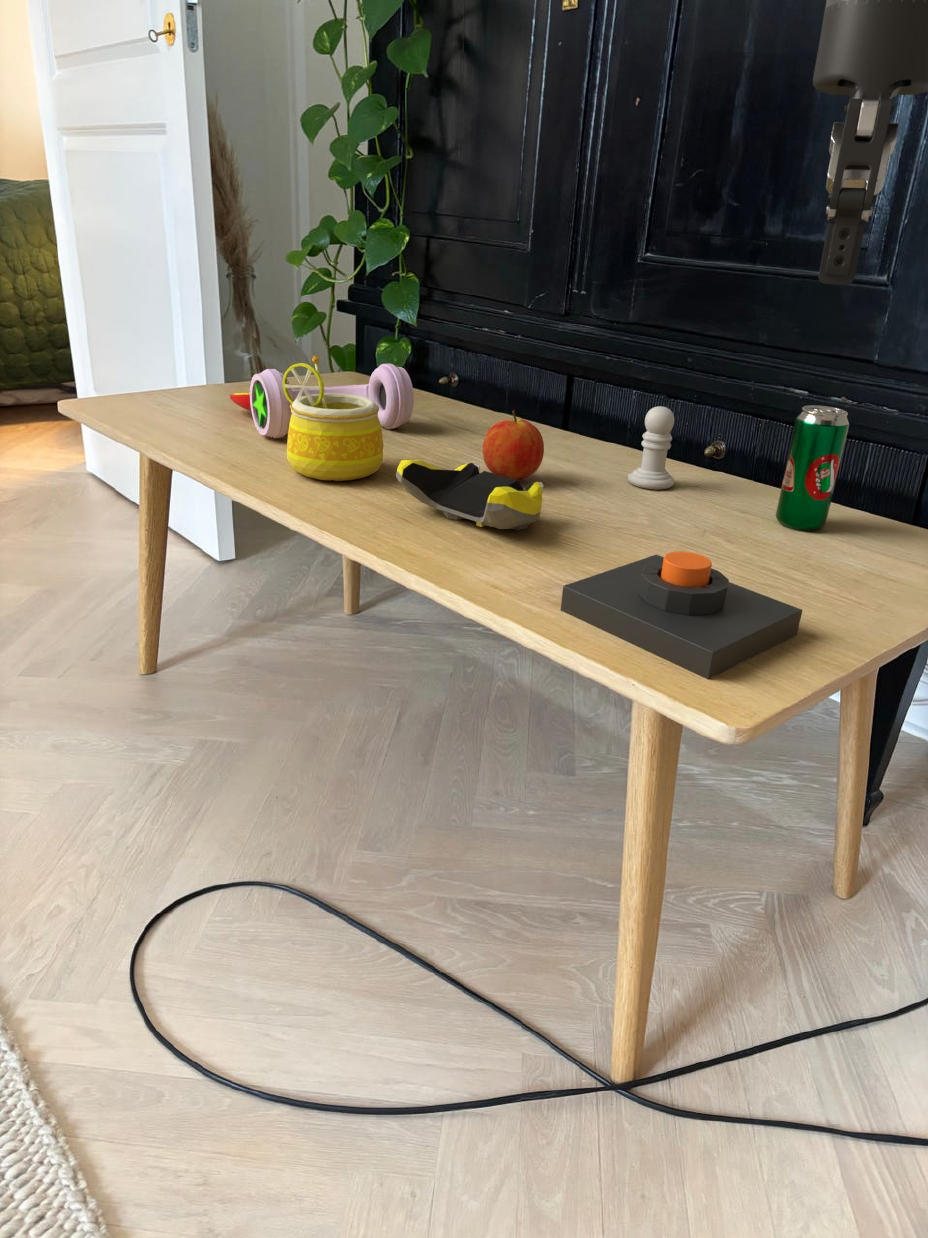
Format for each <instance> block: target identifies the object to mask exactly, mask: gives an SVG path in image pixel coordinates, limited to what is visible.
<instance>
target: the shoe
mask: <svg viewBox="0 0 928 1238" xmlns="http://www.w3.org/2000/svg"><path fill="white" fill-rule="evenodd" d="M480 470H481V466H480V465H479V464H477V463H473V462H469V463H465V464H462V465H460V466H458V467H456V468H455V469H454V470H453V469H442V468H440V467H438V466H435V465H432V464H430V463H429V462H425V461H423V460H420V459H402V460H400V462H399V465H398V466H397V469H396V473H395V478H396V479H397V480H398V482H399V483H400V485H401V486H402V487H403V488H404V490H405V491H406V493H408V494H409V495H410V496H412V497H413V498H415V499H416V500H418V501H419V502H421V503H422V504H424V505H427V506H429V507H432V508H435V509H436V510H439V511H442V513H443V516H444V517H446V518H447V519H448V520H449V519H450V520H455V521H461V520H466V519H467V520H470V521H473V522H476V524H475V525H476V526H477V527H480V528H483V527H486V526H487V527H490V528H496V529H498V530H509V529H510V530H516V531H519V530H526V529H527V528H528V527H529V525H530V524H532V523H535V522H537V521H538V520H539V519H540V518H541V514H542V513H541V512H542V504H543V489H544V484H543V483H542V481H532V482H529V483H528V484H527V486H526V487H525V488H523V486H522V484H520V481H517V480H514V479H511V478H507V477H504V476H500V475H497V474H494V473H492V472H491V471H486V470H483V471H480Z"/></svg>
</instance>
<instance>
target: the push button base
mask: <svg viewBox="0 0 928 1238" xmlns="http://www.w3.org/2000/svg"><path fill="white" fill-rule="evenodd" d="M663 560H664V556H661V555H658V554H653V555H651V556H648V557H645V558H644V557H643V558H642V559H639V560H636V561H633V562H630V563H627V564H623V565H621V566H618V567H615V568H612V569H609V570H606V571H603V572H600V573H597V574H595V575H591V576H589V577H586V578H585V577H584V578H582V579H580V580H576V581H574V582H570V583H568V584H565V585H563V586H562V593H561V600H560V601H561V603H560V611H561V612H563V613H565V614H567V615H570V616H572V617H574V618H576V619H578V620H580V621H583V622H584V623H586V624H589V625H591V626H593V627H595V628H597V629H599V630H601V631H603V632H606V633H608V634H610V635H612V636H614V637H616V638H618V639H621V640H623V641H625V642H627V643H629V644H631V645H633V646H635V647H637V648H640V649H642V650H644V651H646V652H648V653H650V654H652V655H655V656H657V657H659V658H661V659H662V660H665V661H667V662H669V663H671V664H674V665H676V666H678V667H680V668H682V669H684V670H686V671H688V672H691V673H692V674H695V675H697V676H699V677H700V678H704V679H706V680H710V679H713V678H714V677H716V676H718V675H720V674H722V673H724V672H726V671H728V670H730V669H732V668H734V667H736V666H739V665H741V664H742V663H745V662H746V661H748V660H750V659H752V658H754V657H756V656H758V655H760V654H762V653H763V652H766V651H768V650H770V649H772V648H773V647H776V646H778V645H780V644H783V643H784V642H786V641H788V640H790V639H791V638H794V637H795V636H797V635H798V632H799V627H800V623H801V620H802V619H801V618H802V614H803V609H802V608H799V607H796V606H794V605H791V604H788V603H786V602H783V601H780V600H778V599H775V598H772V597H770V596H767V595H764V594H762V593H760V592H757V591H754V590H752V589H749V588H747V587H743V586H741V585H738V584H735V583H734V582H730V579H729V578H728V577H726V575H724V574H723V573H722V572H720V571H719V570H717V569H715V568H712V567H711V572H710V577H709V582H708V585H707V586H704V587H685V586H679V585H674V584H671V583H669V582H666V581H664V580H662V579H661V572H662V566H663Z"/></svg>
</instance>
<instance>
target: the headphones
mask: <svg viewBox="0 0 928 1238" xmlns="http://www.w3.org/2000/svg"><path fill="white" fill-rule="evenodd" d="M283 378H284V373H283V372H280V371H278V370H277V369H275V368H266V369H264V370H263V371H261V372H259V373H254V374H253V376H252V378H251V381H250V384H249V386H250V387H249V392H235V393H233V394H229V399H230V400H231V402H233V403H234V404H236V405H237V406H239V407H241V408H242V409H244V410H247V411H249V412H251V417H252V419H253V423H254V426H255V428H256V431H257V432H258V434H260V435H261V436H266V437H270V438H272V437H273V438H272V439H282V438H284V437H285V435H288V431H289V423H290V419H291V415H292V412H291V409H290V405H291V402H290V401H289V400H288V399H287V398H286V396H285V393H284V390H283ZM287 383H288V384H290V382H289V380H288V379H287ZM287 389H288V392H289V395H290V396H291V398H292V399H293V400H294V401H295V399H296V397H297V396H298V394H299V392H300V390H301V391H302V389H301V387H294V388H287ZM304 390H305V392H306V393H307V391H308V393H309V394H310V395H311V394H320V390H317V389H311V388H306V389H305V388H304ZM304 390H303V392H302V395H301V397H303V396H306V394H305V392H304ZM306 390H307V391H306ZM308 393H307V395H308ZM324 393H339V394H350V395H357V396H362V397H366V398H368V399H370V400H372V401H373V402H375V403H376V405H378V406H379V412H378V418H379V421H380V424H381V427H384V428H385V429H387V430H392V429H398V428H399V427H400V426H401V425H405V424H407V423H408V422H409V421H410V420H411V418H412V415H413V410H414V405H415V404H414V403H415V402H414V401H415V397H414V395H415V394H414V387H413V383H412V380H411V377H410V375H409V373H408V372H407V370H406V369H405V368H403V367H401V366H397V365H394V364H393V363H382V364H380V365H379V366H378V367H377V368H375V369H374V371H373V372H372V373H371V375H370V377H369V381H368V384H367V383H366V384H351V385H349V384H348V385H333V386H331V385H330V386H324Z"/></svg>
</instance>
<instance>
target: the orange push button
mask: <svg viewBox="0 0 928 1238" xmlns="http://www.w3.org/2000/svg"><path fill="white" fill-rule="evenodd" d="M663 557H664V560H663V566H662V572H661V579H662V580H664V581H666V582H669V583H671V584H674V585H679V586H685V587H704V586H707V585H708V582H709V577H710V572H711V568H712V567H713V562H712V561H711V559H709V558H708V557H706V556H705V555H703V554H699V553H695V552H691V551H679V550H678V551H670V552H667V553H666V554H664V556H663Z"/></svg>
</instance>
